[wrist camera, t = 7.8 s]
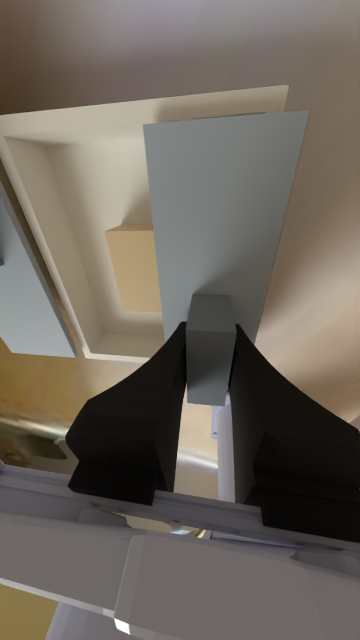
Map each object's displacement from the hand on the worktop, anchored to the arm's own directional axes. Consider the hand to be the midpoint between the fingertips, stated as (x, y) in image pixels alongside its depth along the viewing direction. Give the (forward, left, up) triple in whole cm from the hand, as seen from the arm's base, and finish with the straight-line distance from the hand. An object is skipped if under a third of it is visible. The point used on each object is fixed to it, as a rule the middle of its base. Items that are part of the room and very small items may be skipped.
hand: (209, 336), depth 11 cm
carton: (+3, +4, -4) cm, 6 cm away
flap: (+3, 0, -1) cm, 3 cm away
